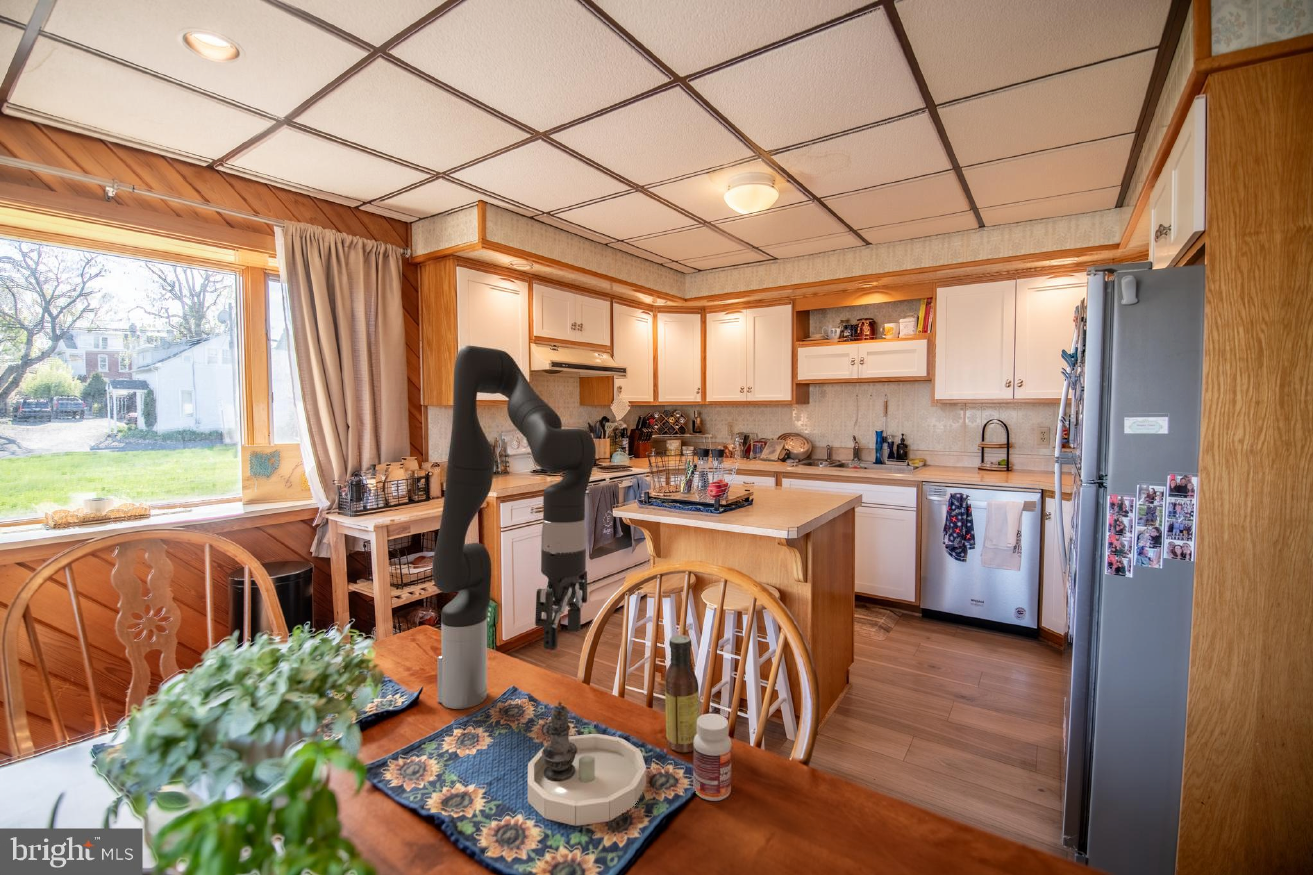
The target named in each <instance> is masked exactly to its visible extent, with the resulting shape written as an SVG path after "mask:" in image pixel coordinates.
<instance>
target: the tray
mask: <svg viewBox="0 0 1313 875" xmlns="http://www.w3.org/2000/svg"><path fill="white" fill-rule="evenodd" d="M569 742H571V743H573V744H575V746H576V747H577V753H576V755H575V759H574V761H573V763H572V765H574V767H575V774H574V775H573V776H572V777H571V778H569V779H567V780H565V781H560V782H555V781H550V780H548V779H546V778H545V776H544V769H545V768H546V767H547V765H546V763H545V761H544V757H543V756H542V750H543V749H544V747H542V748H541V749H540V750H539V751H538V752H537V753H536V754H535V755H534V757H533V758H532V759H530V761H529V762H528V763H527V803H528V804H529V805H530V806H532V808H534V809H535V811H536V812H537V813H538V814H539V815H540V816H542V817H543V818H544V819H546V820H550V821H554V822H558V823H562V824H566V825H569V826H576V827H577V826H585V825H591V824H599V823H607V822H610V821H612V820H615V818H617V817H619V816H621V815H623V814H624V813H626V812H628V811H629V810H631V809H633V808H634V807H636V805H637V804H638V802H639V800H640V799H639V797H640V795H641V794H642V795H643V793H644V791H645V789H646V787H647V766H646V763H645V759H644V757H643V754H642V751H641V749H639V748H637V747H636V746H635V745H633V744H632V743H630V742H628V741H627V740H625V739H624V738H622V737H617V736H611V735H606V734H601V733H600V734H599V733H588V734H581V735H579V734H577V735H571V736H569ZM645 786H646V787H645ZM644 788H645V789H644ZM643 790H644V791H643ZM642 792H643V793H642ZM642 795H641V796H642ZM640 798H641V797H640ZM638 799H639V800H638ZM637 801H638V802H637ZM636 803H637V804H636ZM635 804H636V805H635ZM633 806H634V807H633ZM632 807H633V808H632ZM630 808H631V809H630ZM627 810H628V811H627ZM622 813H623V814H622Z"/></svg>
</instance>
